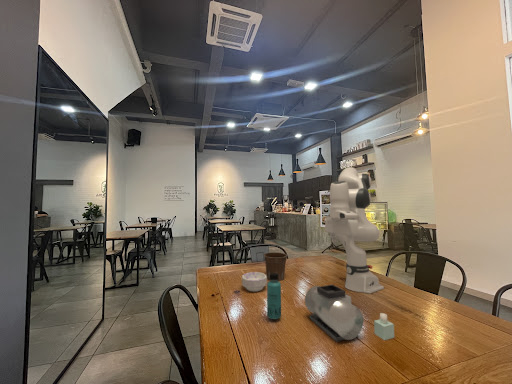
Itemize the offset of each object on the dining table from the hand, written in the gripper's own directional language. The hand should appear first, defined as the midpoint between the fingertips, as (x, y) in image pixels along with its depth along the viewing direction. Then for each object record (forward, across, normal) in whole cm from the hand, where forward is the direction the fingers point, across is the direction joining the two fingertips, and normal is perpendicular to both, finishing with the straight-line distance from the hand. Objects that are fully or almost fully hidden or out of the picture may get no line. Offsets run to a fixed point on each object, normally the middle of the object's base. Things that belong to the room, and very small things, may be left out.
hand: (340, 243), depth 104 cm
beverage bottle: (+33, -7, -31) cm, 46 cm away
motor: (+33, +5, -10) cm, 35 cm away
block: (+33, +18, +5) cm, 38 cm away
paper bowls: (+32, -44, -29) cm, 62 cm away
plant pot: (+31, -57, -10) cm, 66 cm away
